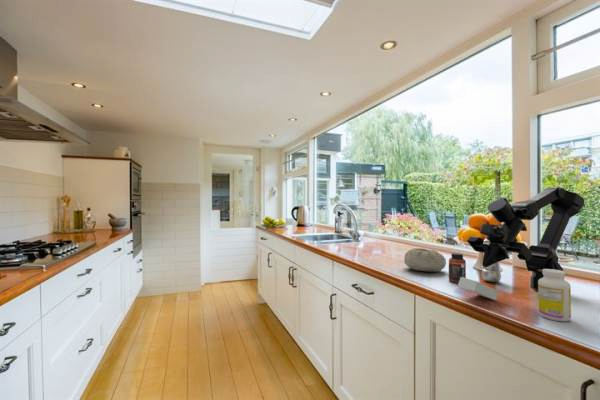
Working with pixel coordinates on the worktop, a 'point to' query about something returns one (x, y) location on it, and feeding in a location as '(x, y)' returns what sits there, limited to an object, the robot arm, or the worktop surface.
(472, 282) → the white rectangular block
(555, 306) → the supplement bottle
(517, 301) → the worktop surface
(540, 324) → the worktop surface
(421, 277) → the worktop surface
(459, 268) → the supplement bottle
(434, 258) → the smooth grey pebble
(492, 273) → the stone figurine
